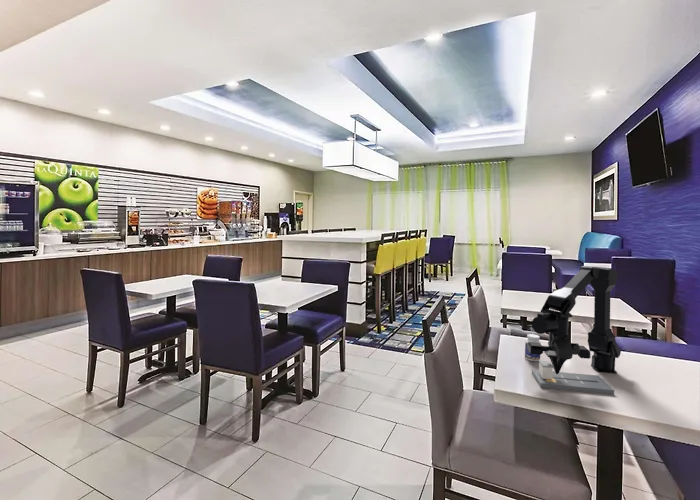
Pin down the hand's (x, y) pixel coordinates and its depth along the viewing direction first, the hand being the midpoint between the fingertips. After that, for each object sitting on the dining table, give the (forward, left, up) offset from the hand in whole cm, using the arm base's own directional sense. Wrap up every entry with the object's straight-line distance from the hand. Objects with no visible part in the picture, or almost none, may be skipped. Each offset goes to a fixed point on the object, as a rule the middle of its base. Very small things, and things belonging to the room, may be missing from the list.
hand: (556, 373), depth 127 cm
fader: (+4, 0, -1) cm, 4 cm away
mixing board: (-4, 0, -3) cm, 5 cm away
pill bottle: (+3, -22, -3) cm, 22 cm away
